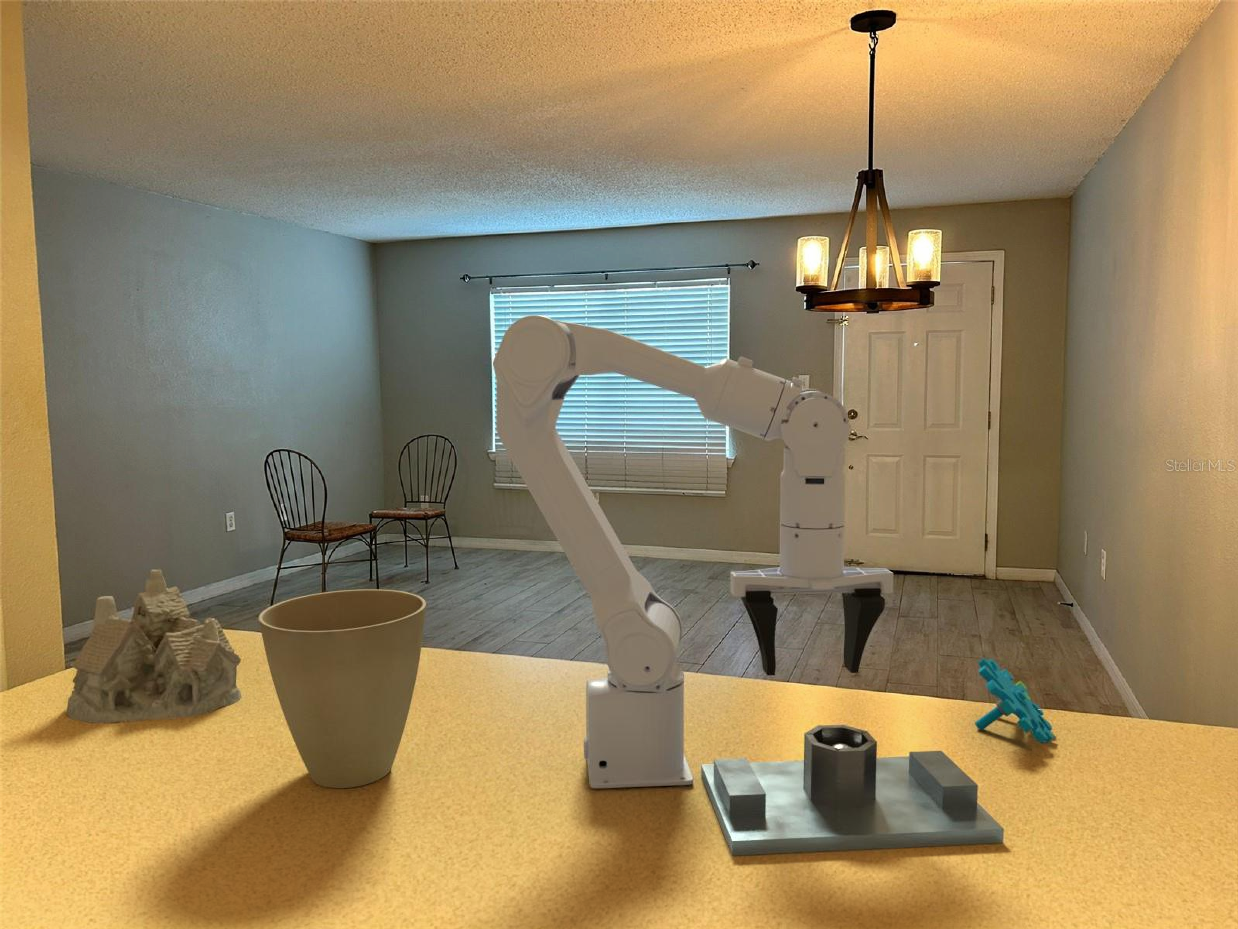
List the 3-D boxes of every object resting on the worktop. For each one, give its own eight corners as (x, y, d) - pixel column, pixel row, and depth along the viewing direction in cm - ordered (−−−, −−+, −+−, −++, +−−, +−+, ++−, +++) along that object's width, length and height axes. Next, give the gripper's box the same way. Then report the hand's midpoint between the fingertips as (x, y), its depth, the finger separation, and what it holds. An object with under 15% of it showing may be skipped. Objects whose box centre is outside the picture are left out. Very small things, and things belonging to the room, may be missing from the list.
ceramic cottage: (51, 706, 103) (51, 577, 101) (195, 674, 116) (197, 559, 114) (107, 750, 93) (109, 608, 92) (258, 710, 106) (261, 585, 104)
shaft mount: (732, 855, 71) (732, 786, 70) (701, 776, 85) (701, 718, 84) (1003, 843, 72) (1005, 775, 72) (929, 767, 86) (931, 711, 86)
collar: (816, 809, 76) (817, 752, 75) (798, 779, 81) (799, 726, 81) (882, 807, 76) (884, 750, 75) (860, 777, 82) (861, 724, 81)
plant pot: (345, 731, 96) (340, 583, 94) (461, 756, 89) (457, 598, 88) (229, 789, 82) (221, 617, 81) (355, 824, 76) (349, 638, 74)
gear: (1052, 745, 87) (979, 660, 91) (1003, 779, 90) (934, 694, 93) (1066, 724, 97) (999, 647, 101) (1021, 754, 99) (957, 678, 103)
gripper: (741, 533, 77) (740, 688, 79) (907, 530, 78) (903, 683, 79) (726, 520, 84) (725, 662, 86) (879, 517, 85) (876, 658, 86)
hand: (810, 670), depth 83 cm, fingers open, 7 cm apart
